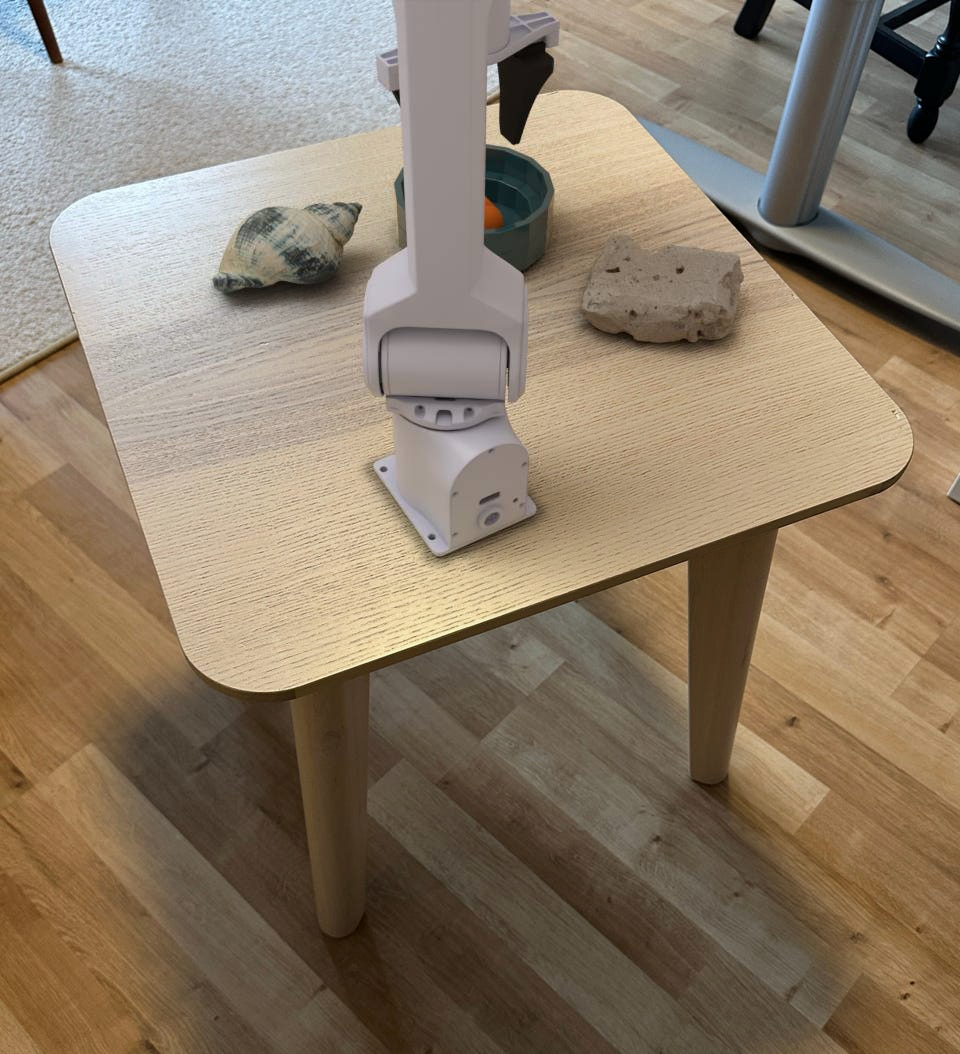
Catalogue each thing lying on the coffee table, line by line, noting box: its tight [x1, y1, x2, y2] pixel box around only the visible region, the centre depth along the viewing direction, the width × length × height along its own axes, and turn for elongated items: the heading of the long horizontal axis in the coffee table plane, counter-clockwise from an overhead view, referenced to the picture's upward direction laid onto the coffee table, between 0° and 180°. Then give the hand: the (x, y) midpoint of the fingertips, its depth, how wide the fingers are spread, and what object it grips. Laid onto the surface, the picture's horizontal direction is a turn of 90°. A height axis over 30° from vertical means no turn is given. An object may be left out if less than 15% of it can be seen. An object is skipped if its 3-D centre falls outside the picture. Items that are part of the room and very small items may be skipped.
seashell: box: [211, 201, 363, 294], centre depth 88 cm, size 6×8×12 cm
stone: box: [578, 233, 745, 343], centre depth 86 cm, size 13×6×10 cm
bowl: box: [393, 143, 556, 272], centre depth 92 cm, size 13×13×5 cm
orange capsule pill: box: [484, 197, 503, 229], centre depth 92 cm, size 6×3×3 cm, turn 30°
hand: (469, 151), depth 86 cm, fingers open, 7 cm apart
